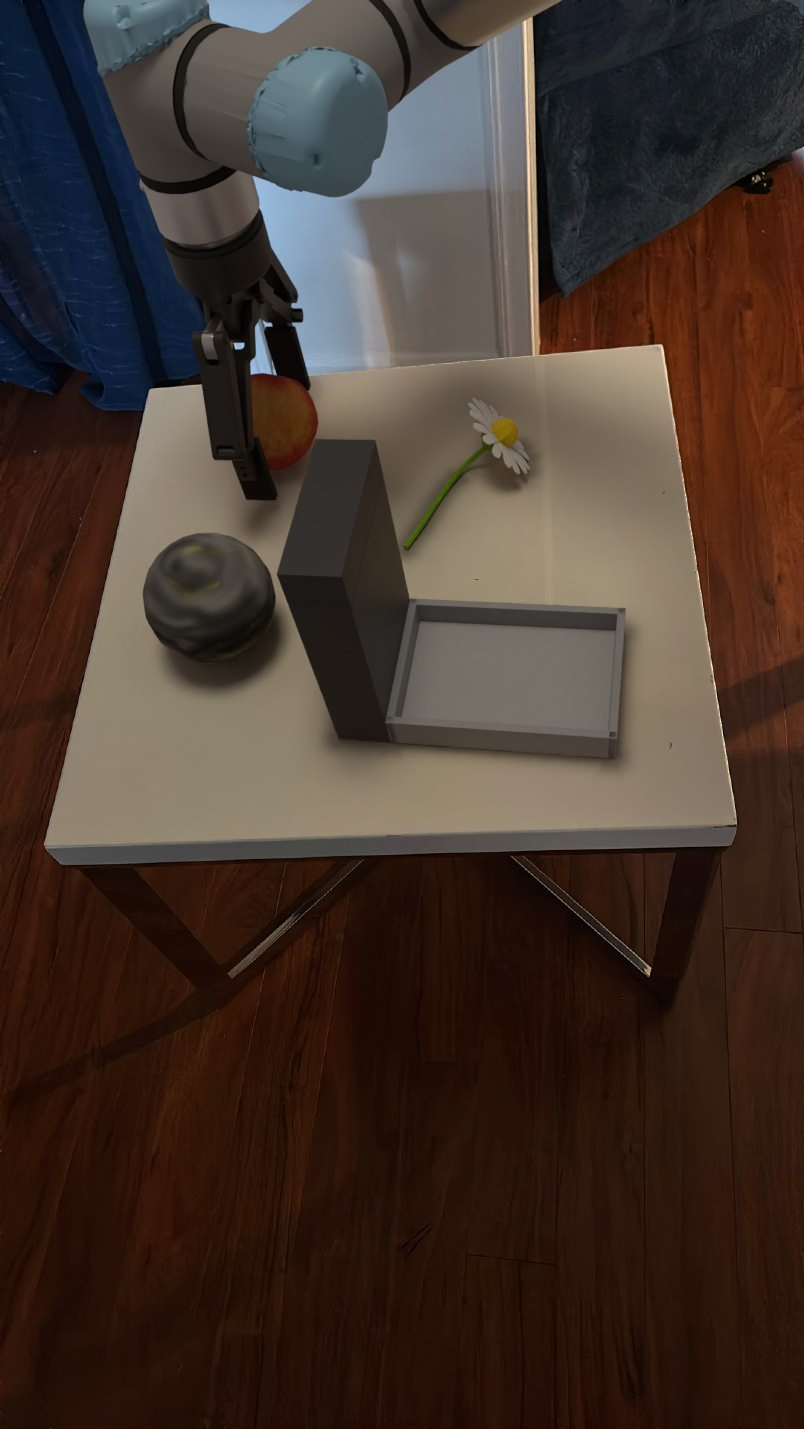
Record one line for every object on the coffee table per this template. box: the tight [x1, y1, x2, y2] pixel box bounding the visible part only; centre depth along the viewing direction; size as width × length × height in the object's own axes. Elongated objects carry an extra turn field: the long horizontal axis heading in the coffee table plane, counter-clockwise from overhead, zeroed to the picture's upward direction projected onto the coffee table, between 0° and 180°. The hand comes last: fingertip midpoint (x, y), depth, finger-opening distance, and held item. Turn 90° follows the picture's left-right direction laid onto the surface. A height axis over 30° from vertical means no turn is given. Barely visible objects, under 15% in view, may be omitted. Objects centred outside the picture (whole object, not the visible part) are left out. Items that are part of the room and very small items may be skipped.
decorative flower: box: [403, 397, 530, 550], centre depth 86 cm, size 8×6×15 cm
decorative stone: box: [142, 532, 277, 665], centre depth 79 cm, size 10×10×10 cm
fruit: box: [251, 372, 319, 471], centre depth 91 cm, size 8×8×8 cm
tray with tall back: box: [276, 438, 627, 760], centre depth 70 cm, size 20×11×19 cm, turn 80°
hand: (279, 441), depth 93 cm, fingers open, 13 cm apart
